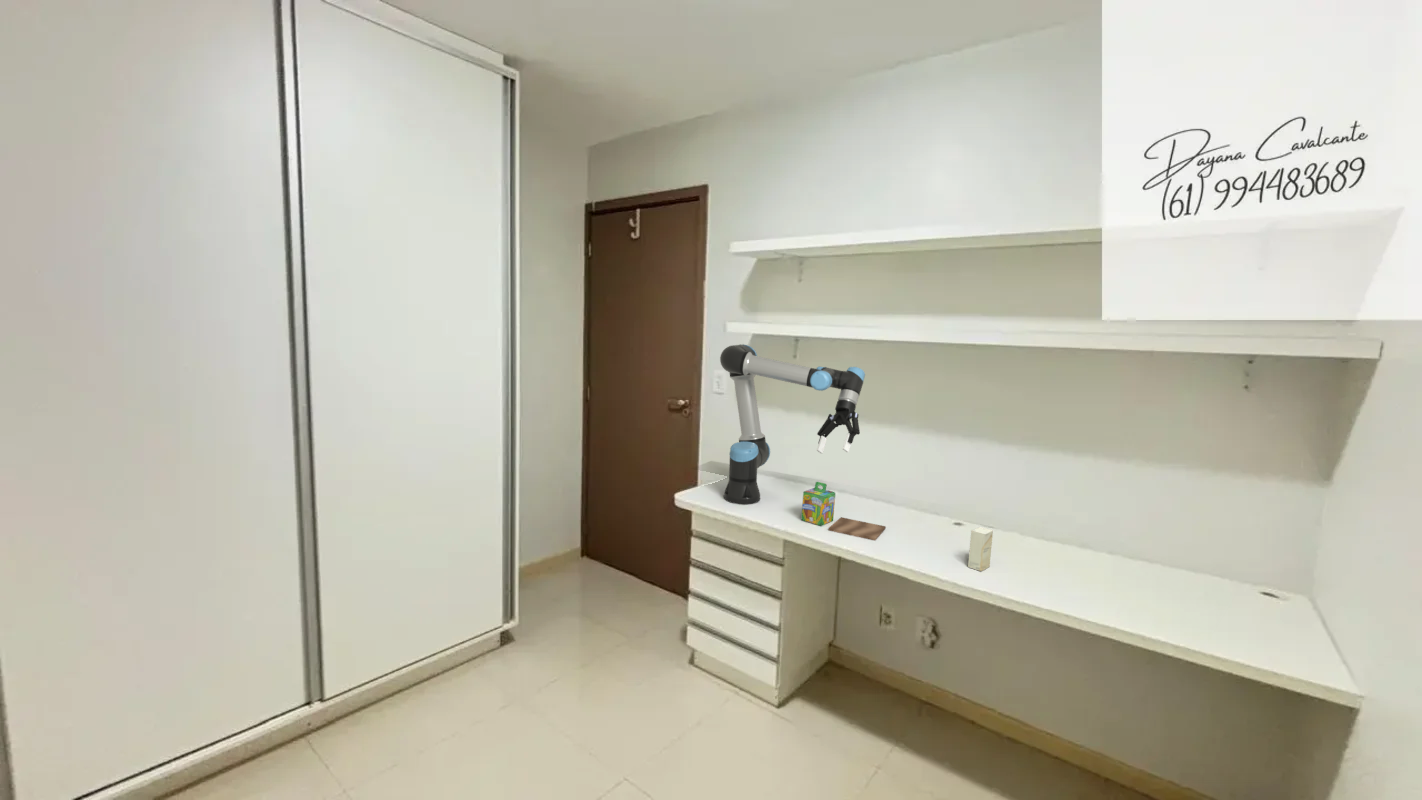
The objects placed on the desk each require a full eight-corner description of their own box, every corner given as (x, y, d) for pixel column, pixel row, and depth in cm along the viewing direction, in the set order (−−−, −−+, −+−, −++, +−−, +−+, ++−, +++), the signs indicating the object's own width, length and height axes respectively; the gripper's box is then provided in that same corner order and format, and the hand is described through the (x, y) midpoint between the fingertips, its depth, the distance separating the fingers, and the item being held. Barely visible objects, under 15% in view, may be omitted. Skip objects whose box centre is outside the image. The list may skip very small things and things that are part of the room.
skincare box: (981, 572, 181) (984, 534, 180) (966, 567, 185) (970, 530, 183) (990, 566, 185) (993, 530, 184) (976, 562, 189) (979, 526, 187)
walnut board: (828, 530, 213) (828, 527, 213) (840, 519, 225) (840, 517, 225) (875, 540, 204) (875, 537, 204) (885, 528, 216) (885, 526, 216)
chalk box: (800, 520, 222) (802, 482, 220) (813, 515, 229) (815, 478, 227) (821, 527, 216) (824, 488, 214) (834, 521, 223) (836, 483, 221)
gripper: (877, 404, 225) (863, 454, 217) (830, 410, 245) (815, 456, 237) (865, 395, 221) (850, 445, 214) (818, 402, 242) (803, 448, 234)
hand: (832, 451), depth 226 cm, fingers open, 13 cm apart
